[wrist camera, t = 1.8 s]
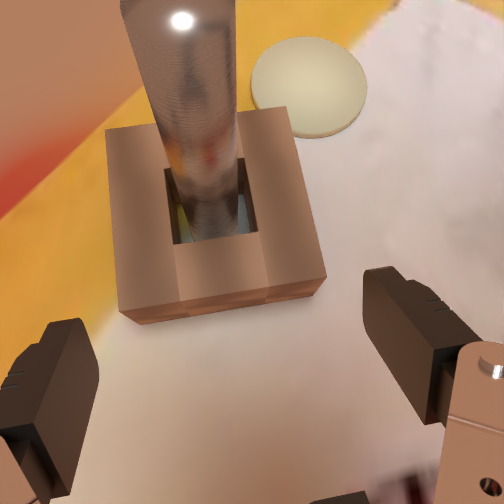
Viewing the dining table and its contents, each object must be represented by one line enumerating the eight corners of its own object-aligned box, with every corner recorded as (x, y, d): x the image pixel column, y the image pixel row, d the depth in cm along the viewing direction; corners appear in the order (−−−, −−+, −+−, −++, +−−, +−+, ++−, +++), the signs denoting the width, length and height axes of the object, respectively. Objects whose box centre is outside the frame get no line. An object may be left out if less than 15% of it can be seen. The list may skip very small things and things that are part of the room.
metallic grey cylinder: (234, 205, 36) (225, -46, 15) (241, 248, 35) (244, 39, 14) (188, 212, 36) (116, -34, 15) (194, 255, 35) (124, 53, 14)
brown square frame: (279, 148, 38) (286, 105, 32) (312, 295, 34) (327, 276, 28) (125, 169, 37) (104, 129, 31) (140, 324, 33) (118, 311, 27)
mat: (348, 38, 42) (351, 30, 41) (377, 129, 39) (380, 123, 38) (242, 51, 41) (242, 43, 40) (262, 145, 38) (262, 139, 37)
